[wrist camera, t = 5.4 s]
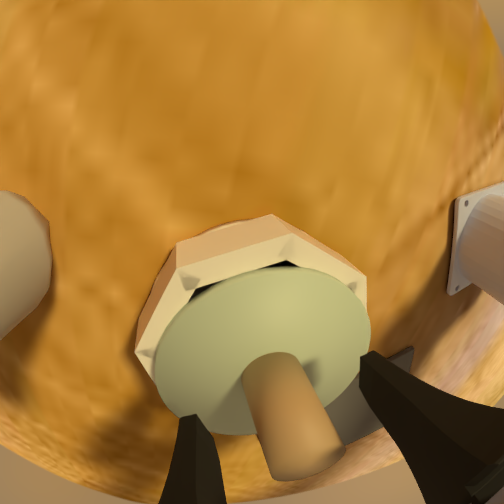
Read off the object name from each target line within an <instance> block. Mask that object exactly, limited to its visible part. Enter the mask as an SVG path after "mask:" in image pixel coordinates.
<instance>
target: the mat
mask: <svg viewBox="0 0 504 504" xmlns="http://www.w3.org/2000/svg"><path fill="white" fill-rule="evenodd" d="M413 353H414V348H413V346H411V347H409V348H407V349H405V350H403V351H401V352H400V353H398V354H396V355H394V356H392V357H390V358H388V359H387V360H389V361H390V362H392V363H394V364H395V365H397V366H398V367H400V368H401V369H403V370H405V371H406V372H408V373H409V372H410V367H411V363H412V358H413ZM324 409H325V411H326V413H327V414H328V416H329V418H330V420H331V422H332V424H333V426H334V427H335V429H336V431H337V433H338V435H339V437H340V438H341V440H342V442H343V444H344V446H345V445H348V444H350V443H352V442H354V441H356V440H358V439H360V438H362V437H365V436H367V435H369V434H371V433H373V432H374V431H376V430H378V429H380V428H382V427H384V426H383V425H382V424H381V422H380V421H379V419H378V418H377V417H376V415H375V414H374V412H373V411H372V410H371V408H370V407H369V405H368V403H367V402H366V400H365V398H364V396H363V394H362V392H361V390H360V388H359V373H358V374H357V375H356V377H355V378H354V379H353V381H352V382H351V383H350V384H349V386H348V387H347V388H346V389H345V390H344V391H343V392H342V393H341V394H340V395H339V396H338V397H337V398H336V399H335V400H334V401H332V402H331V403H330V404H328V405H327V406H326V407H325V408H324Z"/></svg>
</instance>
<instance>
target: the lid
mask: <svg viewBox="0 0 504 504" xmlns="http://www.w3.org/2000/svg"><path fill="white" fill-rule="evenodd" d="M370 338H371V327H370V321H369V317H368V314H367V311H366V309H365V307H364V305H363V304H362V302H361V300H360V299H359V298H358V297H357V296H356V295H355V294H354V293H353V292H352V291H351V290H350V289H349V288H348V287H347V286H346V285H345V284H344V283H342V282H341V281H340V280H338V279H337V278H335V277H333V276H331V275H329V274H327V273H324V272H321V271H318V270H315V269H310V268H304V267H295V266H278V267H267V268H261V269H257V270H252V271H247V272H244V273H241V274H238V275H235V276H232V277H229V278H227V279H225V280H223V281H221V282H219V283H217V284H214V285H213V286H211V287H209V288H208V289H206V290H204V291H203V292H201V293H199V294H198V295H197V296H195V297H194V298H193V299H192V300H190V301H189V302H188V303H187V304H185V305H184V306H183V307H182V308H181V309H180V311H179V312H178V313H177V314H176V315H175V316H174V317H173V318H172V320H171V321H170V323H169V324H168V325H167V327H166V328H165V330H164V332H163V334H162V336H161V338H160V340H159V344H158V347H157V350H156V357H155V382H156V386H157V389H158V392H159V394H160V396H161V398H162V400H163V402H164V403H165V404H166V406H167V407H168V408H169V409H170V410H171V411H172V412H173V413H174V414H175V415H176V416H177V417H179V418H181V417H183V416H188V415H192V414H197V415H198V417H199V418H200V420H201V421H202V423H203V424H204V426H205V427H206V428H207V430H208V431H209V432H213V433H218V434H225V435H252V434H258V437H259V441H260V444H261V447H262V450H263V453H264V456H265V459H266V462H267V465H268V468H269V471H270V474H271V476H272V478H273V479H274V480H277V481H294V480H299V479H303V478H307V477H310V476H313V475H315V474H317V473H320V472H322V471H324V470H326V469H327V468H329V467H331V466H332V465H334V464H335V463H336V462H337V461H339V460H340V459H341V458H342V456H343V455H344V453H345V451H346V448H345V446H344V444H343V442H342V440H341V438H340V437H339V435H338V433H337V431H336V429H335V427H334V426H333V424H332V422H331V420H330V418H329V416H328V414H327V413H326V411H325V409H324V408H325V407H326V406H327V405H328V404H330V403H331V402H332V401H334V400H335V399H336V398H337V397H338V396H339V395H340V394H341V393H342V392H343V391H344V390H345V389H346V388H347V387H348V386H349V384H350V383H351V382H352V381H353V379H354V378H355V377H356V375H357V373H358V372H359V370H360V356H362V355H365V354H367V352H368V349H369V344H370Z"/></svg>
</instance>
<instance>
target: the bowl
mask: <svg viewBox="0 0 504 504" xmlns="http://www.w3.org/2000/svg"><path fill="white" fill-rule="evenodd" d="M278 266H295V267H304V268H310V269H315V270H318V271H321V272H324V273H327V274H329V275H331V276H333V277H335V278H337V279H338V280H340V281H341V282H342V283H344V284H345V285H346V286H347V287H348V288H349V289H350V290H351V291H352V292H353V293H354V294H355V295H356V296H357V297H358V298H359V299H360V300H361V302H362V304H363V305H364V307H365V309H366V311H367V285H366V276H365V275H364V274H363V273H361V272H360V271H359V270H358V269H357V268H356V267H354V266H353V265H352V264H351V263H350V262H348V261H347V260H346V259H345V258H344V257H342V256H341V255H340V254H338V253H337V252H335V251H334V250H332V249H330V248H329V247H327V246H325V245H324V244H322V243H320V242H319V241H317V240H315V239H314V238H312V237H311V236H310V235H308V234H307V233H305V232H304V231H302V230H300V229H298V228H296V227H294V226H292V225H290V224H288V223H287V222H285V221H283V220H281V219H280V218H278V217H276V216H275V215H273V214H270V215H266V216H263V217H259V218H256V219H246V220H237V221H232V222H228V223H224V224H221V225H218V226H215V227H213V228H210V229H208V230H206V231H204V232H202V233H200V234H198V235H196V236H194V237H193V238H190V239H187V240H183V241H180V242H177V243H176V244H175V246H174V248H173V250H172V252H171V254H170V256H169V258H168V260H167V262H166V263H165V264H164V265H163V267H162V269H161V270H160V272H159V274H158V275H157V277H156V279H155V282H154V284H153V287H152V290H151V294H150V296H149V298H148V300H147V302H146V304H145V306H144V308H143V310H142V313H141V315H140V317H139V321H138V328H137V336H136V344H135V354H136V355H137V357H138V359H139V360H140V362H141V363H142V365H143V366H144V368H145V370H146V371H147V373H148V374H149V376H150V377H151V379H152V380H153V382H154V383H155V385H156V382H155V357H156V350H157V347H158V344H159V340H160V338H161V336H162V334H163V332H164V330H165V328H166V327H167V325H168V324H169V323H170V321H171V320H172V318H173V317H174V316H175V315H176V314H177V313H178V312H179V311H180V309H181V308H182V307H183V306H184V305H185V304H187V303H188V302H189V301H190V300H192V299H193V298H194V297H195V296H197V295H198V294H199V293H201V292H203V291H204V290H206V289H208V288H209V287H211V286H213V285H214V284H217V283H219V282H221V281H223V280H225V279H227V278H229V277H232V276H235V275H238V274H241V273H244V272H247V271H252V270H257V269H261V268H267V267H278Z"/></svg>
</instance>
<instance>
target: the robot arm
mask: <svg viewBox="0 0 504 504" xmlns="http://www.w3.org/2000/svg"><path fill="white" fill-rule="evenodd" d="M471 283H473V284H475V285H476V286H478V287H479V288H480V289H482V290H483V291H485V292H486V293H488V294H489V295H491V296H492V297H493V298H495V299H496V300H498V301H499V302H500V303H502V304H503V305H504V181H503V182H500V183H497V184H494V185H491V186H489V187H486V188H483V189H480V190H477V191H474V192H471V193H468V194H465V195H462V196H459V197H458V198H457V199H456V201H455V212H454V231H453V244H452V254H451V263H450V271H449V279H448V286H447V294H449V295H450V296H452V295H454V294H455V293H457V292H459V291H460V290H462V289H464V288H465V287H467V286H468V285H470V284H471ZM359 388H360V390H361V392H362V394H363V396H364V398H365V400H366V402H367V403H368V405H369V407H370V408H371V410H372V411H373V412H374V414H375V415H376V417H377V418H378V419H379V421H380V422H381V424H382V425H383V426H384V428H385V429H386V430H387V432H388V433H389V435H390V436H391V437H392V439H393V440H394V441H395V443H396V444H397V446H398V447H399V449H400V451H401V452H402V454H403V456H404V458H405V460H406V462H407V463H408V465H409V467H410V469H411V471H412V473H413V475H414V477H415V479H416V481H417V484H418V486H419V488H420V490H421V493H422V495H423V497H424V500H425V503H426V504H504V409H501V408H496V407H490V406H486V405H482V404H478V403H474V402H471V401H467V400H465V399H462V398H459V397H456V396H453V395H451V394H448V393H446V392H444V391H442V390H439V389H437V388H435V387H433V386H431V385H429V384H427V383H425V382H424V381H422V380H420V379H418V378H416V377H415V376H413V375H411V374H410V373H408V372H406V371H405V370H403V369H401V368H400V367H398V366H397V365H395V364H394V363H392V362H390V361H389V360H387V359H386V358H384V357H383V356H381V355H380V354H379V353H377V352H376V351H371V352H369V353H367V354H365V355H362V356H360V371H359ZM158 504H227V502H226V496H225V491H224V485H223V479H222V473H221V466H220V460H219V457H218V453H217V449H216V446H215V442H214V438H213V437H212V435H211V434H210V433H209V431H208V430H207V428H206V427H205V426H204V424H203V423H202V421H201V420H200V418H199V417H198V415H197V414H192V415H188V416H183V417H181V418H180V420H179V427H178V433H177V438H176V443H175V448H174V453H173V457H172V461H171V465H170V469H169V473H168V476H167V480H166V483H165V486H164V489H163V492H162V495H161V498H160V501H159V503H158Z"/></svg>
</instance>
